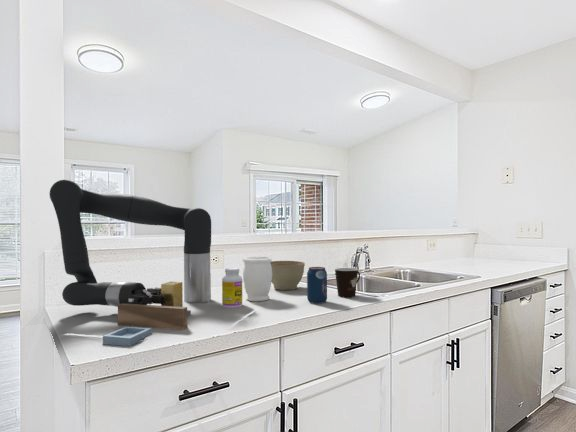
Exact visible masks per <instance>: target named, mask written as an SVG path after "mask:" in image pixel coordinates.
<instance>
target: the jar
mask: <svg viewBox="0 0 576 432" xmlns="http://www.w3.org/2000/svg"><path fill="white" fill-rule="evenodd" d="M271 261H273V259H272V257H267V256H251V257H244V258H242V262H243V263H244V265H243V269H242V270H243V271H242V281H243V284H244V290H245V294H246V295H247V296H246V297H245V298H246V299H245V300H247V301H249V302H263V301H264V302H265V301H268V300H269V299H270V296H269V294H270V292H271V288H272V282H271V281H272V267H271V264H270V262H271Z"/></svg>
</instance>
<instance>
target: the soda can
mask: <svg viewBox="0 0 576 432" xmlns="http://www.w3.org/2000/svg"><path fill="white" fill-rule="evenodd" d="M306 285H307V286H306V289H307V290H306V293H307V294H306V295H307V297H306V298H307V301H308V302H309V303H310V304H313V305H315V304H316V305H318V304H319V305H322V304H326V302H327V300H328V273H327V270H326V268H325V267H323V266H311V267H308V271H307V272H306Z"/></svg>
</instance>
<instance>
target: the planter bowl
mask: <svg viewBox="0 0 576 432" xmlns="http://www.w3.org/2000/svg"><path fill="white" fill-rule="evenodd" d="M270 264H271V267H272V281H271V284H272V285H273V288H274V289H275V290H279V291H280V290H282V291H291V290H296V289H297V288H298V285H299V283H300V282H301V280H302V279H303V276H304V272H305V265H306V263H305V262H304V261H300V260H299V261H297V260H272V261H271V262H270Z"/></svg>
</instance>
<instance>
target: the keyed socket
mask: <svg viewBox="0 0 576 432" xmlns="http://www.w3.org/2000/svg"><path fill="white" fill-rule="evenodd" d="M152 330H153V329H152V327H138V326H125V327H121V328H120V329H117V330H114V331H112V332H109V333H107V334H105V335H103V336H102V344H103V345H112V346H113V345H114V346H124V347H125V346H126V347H127V346H128V347H131V346H133V345H135V344H137V343H140V342H141V341H143V340H145V339H146V337H147V336H149V335H151V334H152Z"/></svg>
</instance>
